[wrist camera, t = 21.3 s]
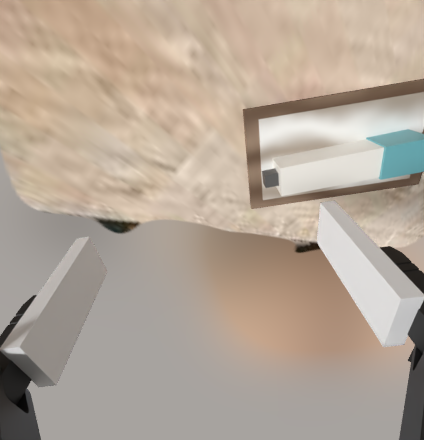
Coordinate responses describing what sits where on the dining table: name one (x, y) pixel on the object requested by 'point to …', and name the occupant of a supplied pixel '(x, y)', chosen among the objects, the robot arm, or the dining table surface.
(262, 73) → the dining table surface
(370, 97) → the writing pad
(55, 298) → the robot arm
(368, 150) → the block
